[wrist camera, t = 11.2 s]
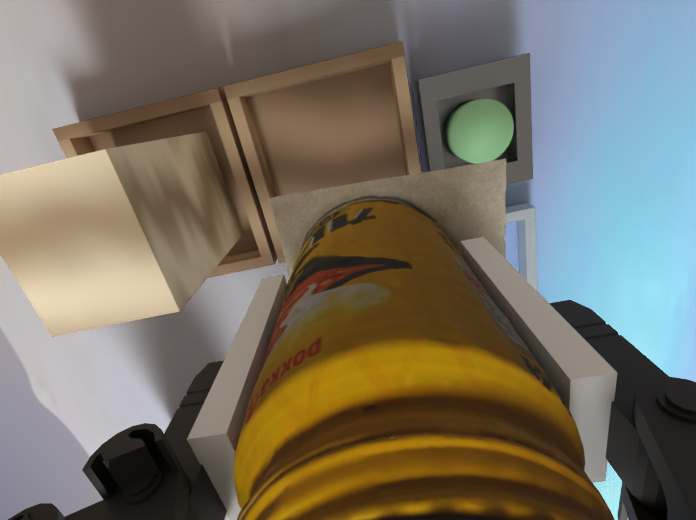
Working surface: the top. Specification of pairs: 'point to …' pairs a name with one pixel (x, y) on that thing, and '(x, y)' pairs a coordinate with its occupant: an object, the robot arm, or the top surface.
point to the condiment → (403, 369)
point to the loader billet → (117, 231)
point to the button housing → (472, 84)
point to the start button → (479, 130)
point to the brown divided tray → (281, 136)
